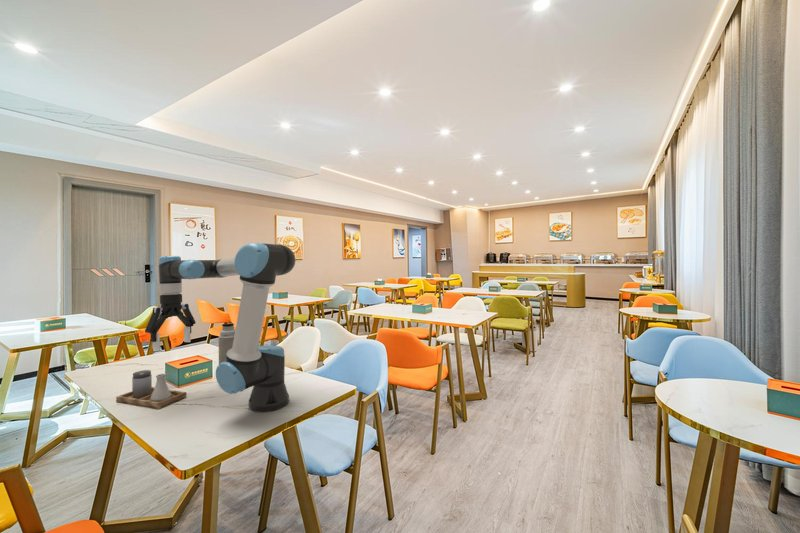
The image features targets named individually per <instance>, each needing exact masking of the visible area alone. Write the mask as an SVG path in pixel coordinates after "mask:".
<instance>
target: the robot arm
mask: <svg viewBox="0 0 800 533" xmlns="http://www.w3.org/2000/svg"><path fill="white" fill-rule="evenodd" d="M295 265H296V256H295V253H294V252H293V250H292V249H291V248H290V247H288V246H286V245H284V244H280V243H278V244H276V243H275V244H273V243H264V242H251V243H250V242H248V243H246V244H244V245H243V246H241V247H240V248H239V249H238V251H237V252H236V254H235V257H229V258H221V259H215V260H211V259H210V260H209V259H207V260H206V259H205V260H204V259H203V260H201V259H185V260H182V257H181V256H180V255H161V256H159V258H158V278H159V294H161V295H159V304H160V305H161V306H160V307H159V306H157V307H155V306H154V307H153V308H152V314H151V316H150V318H149V320H148V323H147V325H146V328H145V329H144V333H147V334H150V342H151V343H152V350H153V351H160V349H161V345H160V343H161V342H160V339H161V338H160V332H159V331H160V329H161V328H162V326H164V323H165V322H166V320H168V318H173V317H177V318H178V319H179V320H180V322H182V324H183V325H184V326H183V342H184V343H191V341H192V340H191V334H192V327H194V325H195V324H196V320H195V318H194V316H193V314H192V312H191V310H190V307H189V304H188V303H183V294H182V292H183V286H182V285H183V283H182V282H183V281H182V280H196V279H211V278H213V279H216V278H217V279H221V278H227V277H233V276H239V281H240V282H241V283H242V289H241V297H240V301H239V308H238V313H237V320H236V325H235V329H234V330H235V336H234V341H233V347H232V349H230V350H229V351H228V352H227V354H226V360H225V362H222V363H220V365H219V364H218V365H217V366H216V369H215V380H216V382H217V384H218V386H219V388H220V389H221V390H222V391H223V392H225V393H227V394H231V395H232V394H234V395H235V394H237V393H241V392H244V391H245V390H248V389H249V388H251V387H252V390H251V393H250V395H249V396H250V397H249V399H248V408H249V409H250V410H251V411H254V412H260V413H261V412H263V413H264V412H271V411H275V410H279V409H281V408H284V407H285V406H287V405H288V404H289V402H290V395H289V393H288V390H287V386H286V384H285V371H286V370H285V362H286V360H285V358H286V356H285V350H284V348H283V347H282V346H279V345H260V341H261V336H262V331H263V330H262V329H263V325H264V320H265V314H266V308H267V302H268V297H269V293H270V292H269V291H270V287H272V286H273V285H274V286H275V283H276V278H277V276H284V275H287V274H288V273H290V272H291V271H292V270H293V269H294V267H295Z"/></svg>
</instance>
